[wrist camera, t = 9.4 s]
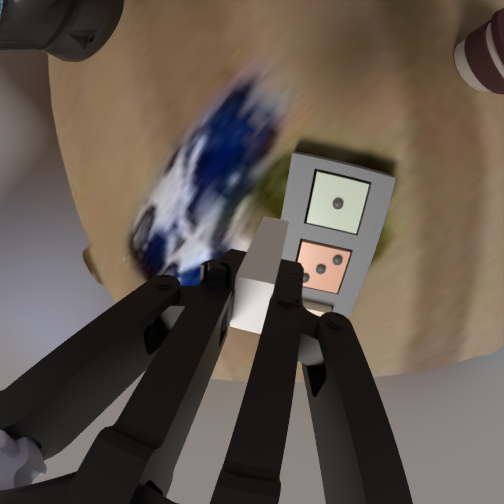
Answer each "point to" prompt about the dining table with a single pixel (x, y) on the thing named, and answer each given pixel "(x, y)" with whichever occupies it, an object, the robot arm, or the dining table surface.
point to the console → (358, 243)
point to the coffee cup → (483, 56)
